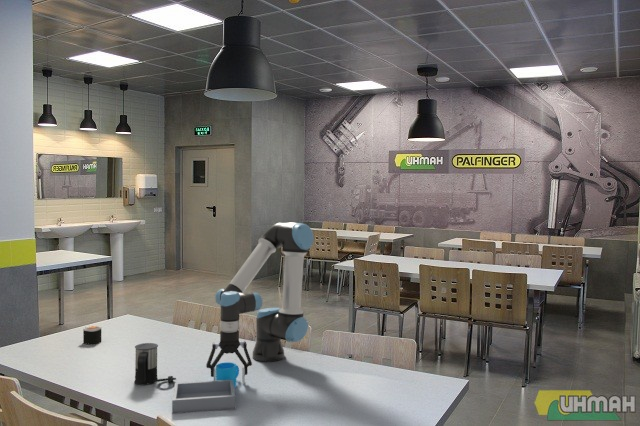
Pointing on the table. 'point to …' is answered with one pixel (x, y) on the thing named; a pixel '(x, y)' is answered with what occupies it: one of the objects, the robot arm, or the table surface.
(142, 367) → the milk frother
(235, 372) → the mug
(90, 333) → the sushi
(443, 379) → the table surface
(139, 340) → the table surface
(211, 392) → the box
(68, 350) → the table surface
